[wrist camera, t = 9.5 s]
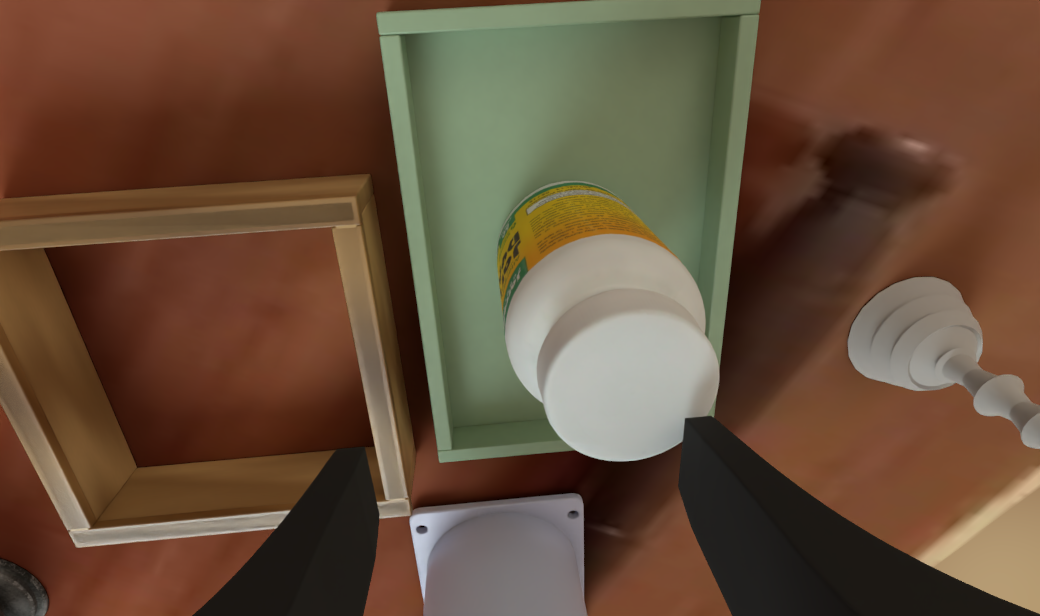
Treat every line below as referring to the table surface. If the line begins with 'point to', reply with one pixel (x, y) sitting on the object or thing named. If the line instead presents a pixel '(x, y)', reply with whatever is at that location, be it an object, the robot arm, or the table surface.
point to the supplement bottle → (603, 323)
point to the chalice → (935, 350)
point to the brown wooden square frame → (84, 404)
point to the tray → (555, 166)
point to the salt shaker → (20, 592)
